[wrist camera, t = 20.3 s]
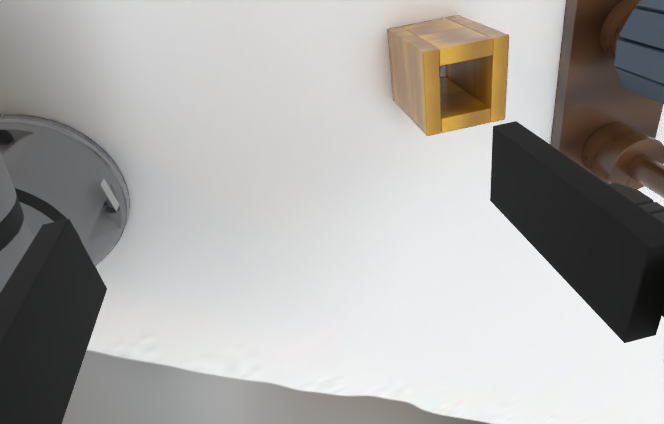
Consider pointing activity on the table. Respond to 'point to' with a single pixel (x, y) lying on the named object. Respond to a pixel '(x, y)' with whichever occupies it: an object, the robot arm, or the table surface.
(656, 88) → the blue ring
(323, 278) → the table surface
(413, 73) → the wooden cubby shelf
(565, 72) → the peg stand
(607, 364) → the table surface
